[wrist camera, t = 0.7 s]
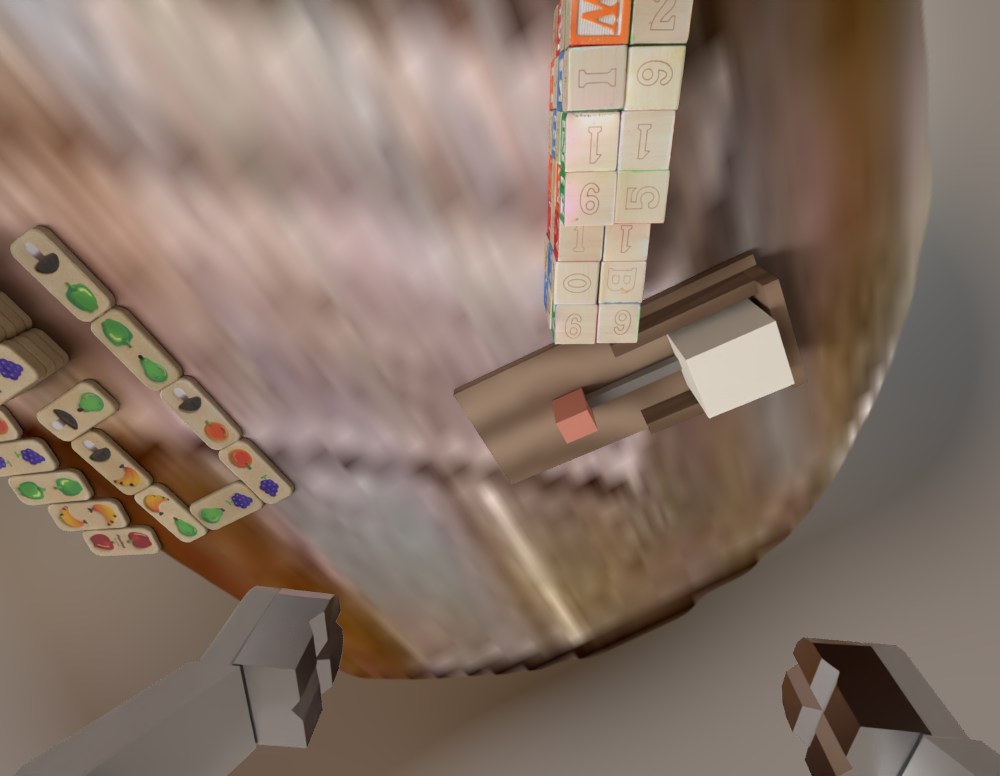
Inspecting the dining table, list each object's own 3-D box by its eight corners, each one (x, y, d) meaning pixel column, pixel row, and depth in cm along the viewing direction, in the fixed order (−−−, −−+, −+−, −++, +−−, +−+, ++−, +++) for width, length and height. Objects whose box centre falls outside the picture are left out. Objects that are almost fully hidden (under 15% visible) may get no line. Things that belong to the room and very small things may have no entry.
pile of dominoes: (-165, 345, 50) (-238, 371, 45) (21, 191, 43) (-41, 203, 38) (128, 574, 64) (97, 612, 59) (301, 484, 57) (283, 520, 52)
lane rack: (454, 389, 51) (449, 417, 46) (748, 250, 44) (775, 267, 40) (511, 478, 56) (512, 510, 51) (783, 365, 49) (810, 390, 45)
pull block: (543, 385, 49) (548, 420, 44) (743, 295, 45) (775, 320, 40) (570, 433, 52) (578, 471, 46) (762, 352, 47) (794, 383, 42)
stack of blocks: (613, 302, 47) (647, 363, 36) (542, 303, 47) (554, 364, 36) (642, 7, 37) (701, -33, 26) (551, 8, 37) (572, -32, 26)
